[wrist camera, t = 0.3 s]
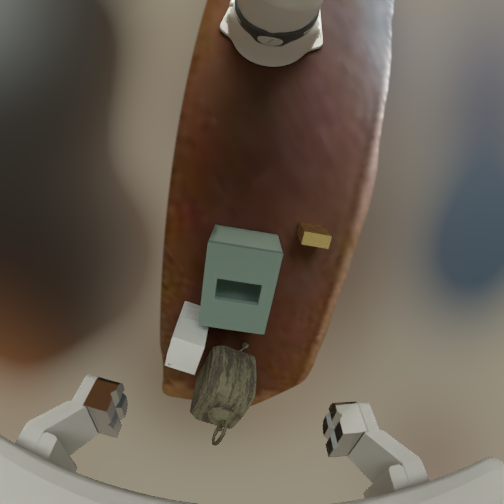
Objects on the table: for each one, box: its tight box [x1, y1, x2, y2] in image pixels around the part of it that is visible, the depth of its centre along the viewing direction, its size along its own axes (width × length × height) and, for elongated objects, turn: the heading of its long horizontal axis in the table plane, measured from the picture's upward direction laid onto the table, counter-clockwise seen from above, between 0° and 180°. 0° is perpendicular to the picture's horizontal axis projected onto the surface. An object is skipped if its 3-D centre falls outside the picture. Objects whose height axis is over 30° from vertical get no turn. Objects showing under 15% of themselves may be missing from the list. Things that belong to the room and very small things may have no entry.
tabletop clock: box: [190, 342, 257, 445], centre depth 55 cm, size 14×9×25 cm, turn 155°
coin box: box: [199, 225, 283, 335], centre depth 54 cm, size 16×12×10 cm
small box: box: [165, 301, 209, 375], centre depth 57 cm, size 8×6×13 cm
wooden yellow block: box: [297, 222, 332, 249], centre depth 53 cm, size 2×5×6 cm, turn 80°
